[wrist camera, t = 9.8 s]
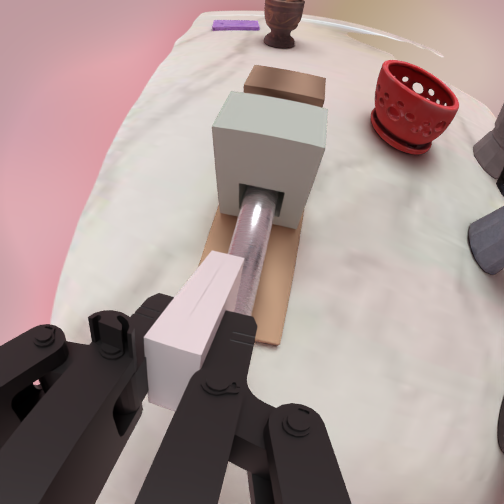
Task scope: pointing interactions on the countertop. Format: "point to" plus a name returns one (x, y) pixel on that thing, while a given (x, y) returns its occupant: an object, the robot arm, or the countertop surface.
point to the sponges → (235, 25)
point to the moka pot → (489, 237)
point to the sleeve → (268, 152)
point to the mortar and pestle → (282, 21)
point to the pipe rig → (265, 221)
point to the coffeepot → (492, 148)
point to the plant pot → (411, 107)
